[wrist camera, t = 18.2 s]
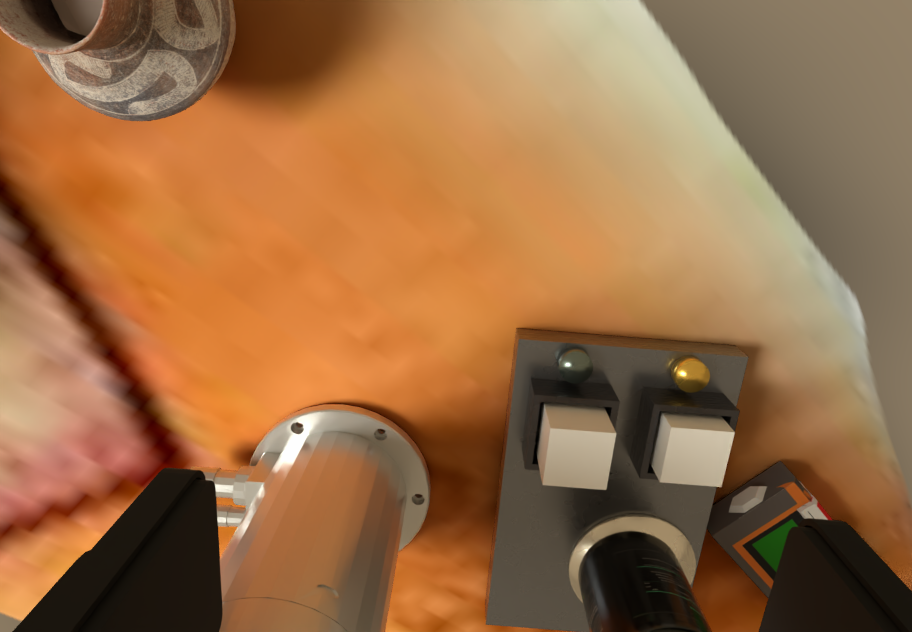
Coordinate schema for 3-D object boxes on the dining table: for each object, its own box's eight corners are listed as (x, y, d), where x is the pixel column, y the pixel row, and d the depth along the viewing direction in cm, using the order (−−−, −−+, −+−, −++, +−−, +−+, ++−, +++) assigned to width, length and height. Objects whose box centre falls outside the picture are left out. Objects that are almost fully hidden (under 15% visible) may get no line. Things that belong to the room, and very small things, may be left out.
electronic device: (824, 661, 44) (711, 536, 40) (802, 627, 46) (693, 507, 42) (909, 612, 42) (800, 478, 38) (880, 581, 45) (776, 452, 41)
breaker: (536, 452, 37) (542, 484, 34) (543, 399, 36) (550, 428, 33) (594, 456, 37) (606, 490, 34) (602, 404, 36) (616, 433, 33)
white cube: (643, 450, 38) (659, 482, 35) (653, 399, 37) (671, 427, 34) (699, 455, 38) (721, 487, 35) (711, 404, 37) (734, 432, 34)
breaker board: (485, 603, 45) (486, 652, 41) (516, 328, 38) (522, 353, 34) (670, 617, 45) (690, 668, 41) (734, 345, 38) (766, 372, 34)
